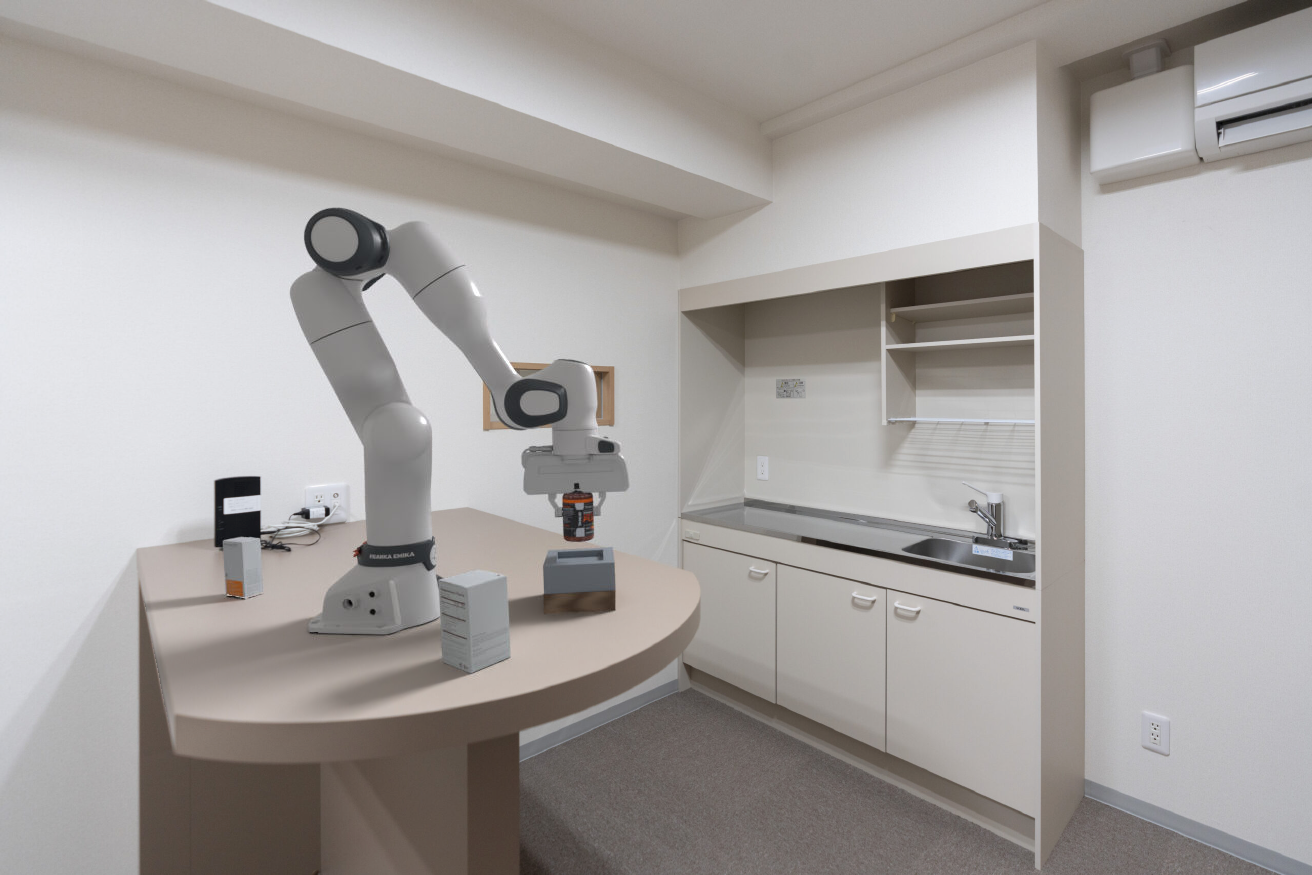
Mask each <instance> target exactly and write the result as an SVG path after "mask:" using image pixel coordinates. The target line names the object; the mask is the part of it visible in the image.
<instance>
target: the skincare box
mask: <svg viewBox="0 0 1312 875" xmlns="http://www.w3.org/2000/svg"><path fill="white" fill-rule="evenodd" d="M261 546H262V545H261V538H260V537H252V536H249V537H246V536H245V537H244V536H238V537H234V538H228V539H224V540H222V551H223V553H222V554H223V565H224V566H223V569H224V583H225V584H224V585H225V588H224V589H225V595H226V594H229V595H232V596H239V597H248V596H251V595H254V594H257V593H261V592H263V593H264V583H263V582H264V580H263V579H264V578H263V566H262V547H261Z"/></svg>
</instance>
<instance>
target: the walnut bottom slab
mask: <svg viewBox="0 0 1312 875" xmlns="http://www.w3.org/2000/svg"><path fill="white" fill-rule="evenodd" d="M616 588H617V587H616V584H615V590H613V591H595V592H577V593H559V594H544V593H543V594H542V595H543V596H542V597H543V614H544V615H547V614H567V613H568V614H569V613H588V612H589V613H591V612H608V611H609V612H610V611H612V612H613V611H616V603H617V602H616V597H617V596H616Z"/></svg>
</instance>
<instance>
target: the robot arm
mask: <svg viewBox="0 0 1312 875" xmlns="http://www.w3.org/2000/svg"><path fill="white" fill-rule="evenodd" d="M303 241H304V246H305V248H306V252H307V254H308V255H309V257H310V258H311V259H312V261H313V262H314V263H315V264H316V266H315V267H314V268H313V269H312V270H310V271H307V272H305V273H303V274H302V275H300V276H299V277H297V278H296V279H295V280H294V281H293V283H292V284H291V286H290V289H289V298H290V300H291V303H292V304H291V305H292V308H293V311H294V314H295V316H296V320H297V321H298V324H299V326H300V328H301V331H302V333H303V335H304V337H305V339H306V341H307V343H308V345H309V347H310V348H311V351H312V352H313V354H314V356H315V358H316V360H317V361H318V363H319V365H320V367H321V369H322V371H323V373H324V375H325V376H326V379H327V380H328V382H329V384H330V386H331V388H332V389H333V391H334V393H335V396H336V397H337V398H338V401H339V403H340V404H341V406H342V409H343V411H344V412H345V414H346V416H347V418H348V420H349V422H350V424H351V425H352V427H353V429H354V432H355V433H356V435H357V437H358V439H359V441H360V442H361V445H362V447H363V464H364V466H363V470H364V471H363V472H364V508H365V509H364V510H365V511H364V512H365V513H364V514H365V526H366V527H365V528H366V529H365V530H366V532H365V534H366V540H365V541H363V543H362V544H361V545H359V546H358V547H357V548H356V549H355V550H353V551H352V553H354V554H353V555H352V558H356V561H357V564H356V565H354V566H353V567H352V568H351V569H349V570H348V572H346V573H345V574H344V575H343V576H341V577H340V578H339V579H338V580H337V581H336V582H334V583H333V584H331V586H330V587H329V588H328V589H327V591H326V592H325V594H324V598H323V603H322V610H321V611H322V612H320V613H319V614H316V616H314V617H313V618H311V620H310V621H309V623H308V626H307V627H308V629H307V630H309V631H308V632H309V633H310V632H318V633H317V634H343V635H344V634H351V635H353V634H356V635H389V634H392V633H393V634H394V633H395V632H399V631H402V630H404V629H407V628H412V627H416V626H420V625H422V624H426V623H429V622H432V621H434V620H436V619H438V618H440V602H439V583H438V580H437V573H436V566H437V545H436V538H435V536H434V535H433V523H432V522H433V521H432V520H433V519H432V500H431V496H432V495H431V491H432V475H433V474H432V471H433V470H432V469H433V430H432V426H431V425H432V424H431V422H430V420H429V419H428V417H427V416H426V415H425V413H424V412H423V411H421V410H420V409H419V408H417V407H416V406H415V405H413V403H412V401H411V399H410V397H409V394H408V393H407V390H406V387H405V385H404V382H403V381H402V378H401V376H400V373H399V371H398V369H397V365H396V363H395V361H394V358H393V357H392V354H391V353H390V351H389V350H388V347H387V345H386V342H385V341H384V339H383V338H382V335H381V333H380V332H379V330H378V327H377V326H376V324H375V321H374V319H373V318H372V316H371V314H370V312H369V311H368V308H367V307H366V304H365V301H364V299H363V292H366V291H368V290H369V289H370V288H372V286H373V285H375V284H376V282H378V281H379V280H381V279H382V278H383V277H384V276H385V275H389V276H391V277H393V278H394V279H395V280H396V281H397V282H398V283H399V284H400V285H401V286H402V287H403V289H404V291H406V293H407V295H408V296H409V297H410V299H411V300H412V301H413V302H414V304H415V305H416V307H417V308H418V309H419V310H420V311H421V312H422V313H423V314H424V316H425V317H426V318H427V319H428V320H429V321H430V322H431V323H432V324H433V325H434V326H435V328H437V329H438V330H439V331H440V332H441V333H442V334H443V335H444V336H446V338H447V339H449V341H450V342H452V343H453V345H455V346H456V347H457V348H458V349H459V350H460V351H461V353H462V354H463V356H464V357H466V359H467V361H468V362H469V363H470V365H471V366H472V367H473V370H474V371H475V372H476V373H477V374H478V376H479V377H480V379H481V380H482V381H483V382H484V384H485V386H486V388H487V389H488V390H489V392H490V395H491V396H490V397H491V399H492V405H493V409H494V412H495V416H496V417H497V418H498V420H499V422H501V424H502V425H504V426H505V427H507V428H509V429H511V430H514V431H527V430H534V429H535V430H536V429H538V428H541V427H543V426H548V425H550V426H551V439H552V442H551V443H552V444H551V445H539V446H536V445H531V446H529V447H528V448H525V449H524V450H523V451H522V452H521V456H520V457H521V466H522V468H523V469H524V470H523V471H524V473H523V483H522V484H523V492H524V493H525V495H527V496H534V495H537V496H538V495H547V497H548V498H547V499H548V501H549V503H550V505H551V506H552V508H553V509H554V518H563V508H562V506H559V505H558V503H557V501H556V500H557V497H558V495H560V494H561V495H563V494H568V493H571V492H573V491H575V490H578V491H582V492H583V493H592V494H593V493H597V494H598V498H599V499H600V500H599V501H598V503H597V505H593V516H594V517H601V516H602V506H603V504H604V502H605V500H606V499H607V493H618V492H626V491H628V490H629V488H630V475H629V469H628V468H629V467H628V465H627V460H626V458H625V456H624V455H623V454H622V453H621V451H622V450H623V445H622V442H621V441H620V440H617V439H613V438H609V437H608V436H602V435H600V434H599V425H598V422H597V410H598V392H597V391H598V390H597V383H596V376H595V373H594V372H595V371H594V369H593V367H591V366H590V364H589V363H585V362H583V361H580V360H575V359H571V358H570V359H569V358H567V359H566V358H559V359H556V360H554V361H553V362H551V363H550V364H549V365H546V366H545V367H544V368H542V369H541V370H538V371H537V372H534V373H532V374H529V375H526V376H521V374H519V373H518V372H517V371H516V370H515V369H514V368H515V367H514V366H513V365H512V364H511V363H510V361H509V359H508V358H507V357H506V355H505V354H504V353H503V350H501V348H500V346H499V345H498V343H497V342H496V340H495V339H494V337H493V335H492V333H491V329H490V327H489V322H488V315H487V302H486V299H485V296H484V294H483V292H482V290H481V288H480V285H479V284H478V281H477V280H476V278H475V277H474V275H473V274H472V273H471V270H470V269H469V268H468V266H466V264H465V263H464V261H463V260H462V258H461V257H460V256H459V255H458V254H457V252H456V251H455V249H453V247H452V246H451V245H450V244H449V243H448V242H447V241H446V239H445V238H444V237H442V235H441V234H439V232H438V231H437V230H435V228H433V227H432V226H431V225H430V224H429V223H427V222H423V221H421V220H420V221H419V220H412V221H407V222H404V223H402V224H400V225H398V226H397V227H395V228H393V229H389V230H388V229H386V228H385V226H384V225H383V224H381V223H378V222H376V221H375V220H373V219H370V218H369V217H367V216H366V215H363V214H362V213H360V212H357V211H355V210H352V209H349V208H345V207H329V208H328V207H327V208H325V209H321V210H319V211H317V212H316V213H314V214H313V215H312V216H311V217H310V218H309V219H308V221H307V223H306V225H305V226H304V231H303ZM574 483H579V488H580V489H574Z"/></svg>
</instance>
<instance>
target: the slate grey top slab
mask: <svg viewBox="0 0 1312 875" xmlns="http://www.w3.org/2000/svg"><path fill="white" fill-rule="evenodd" d="M614 555H615V554H614V547H613V546H611V547H610V546H606V547H590V548H589V547H587V548H568V549H566V548H565V549H548V551H547V553H546V556H545V559H544V562H543V565H542V572H543V573H542V576H543V594H559V593H577V592H595V591H613V590H615V585H616V568H615V556H614Z"/></svg>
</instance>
